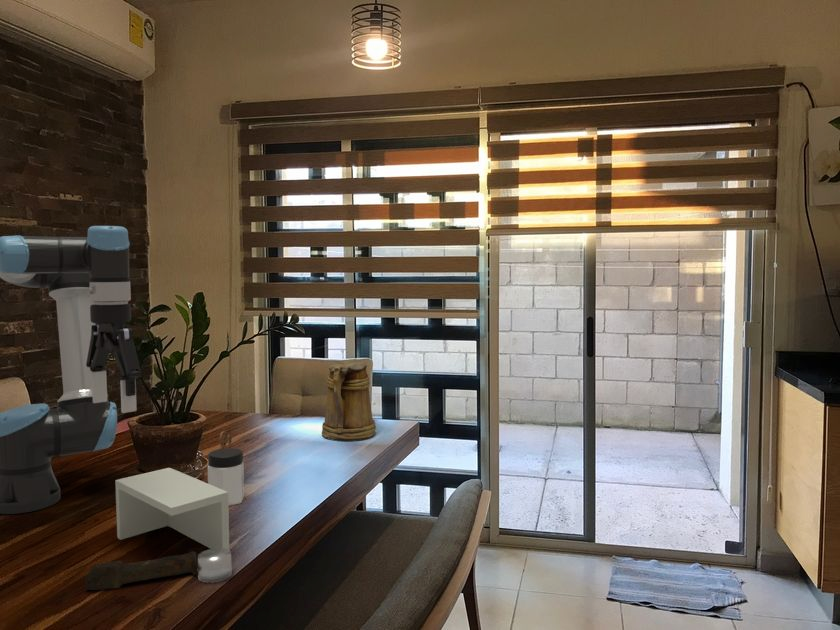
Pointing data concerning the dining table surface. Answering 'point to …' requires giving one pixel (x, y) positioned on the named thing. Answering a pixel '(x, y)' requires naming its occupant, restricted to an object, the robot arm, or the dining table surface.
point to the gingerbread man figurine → (225, 441)
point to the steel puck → (214, 565)
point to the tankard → (348, 402)
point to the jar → (227, 473)
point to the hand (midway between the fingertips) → (114, 406)
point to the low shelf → (172, 507)
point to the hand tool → (138, 571)
